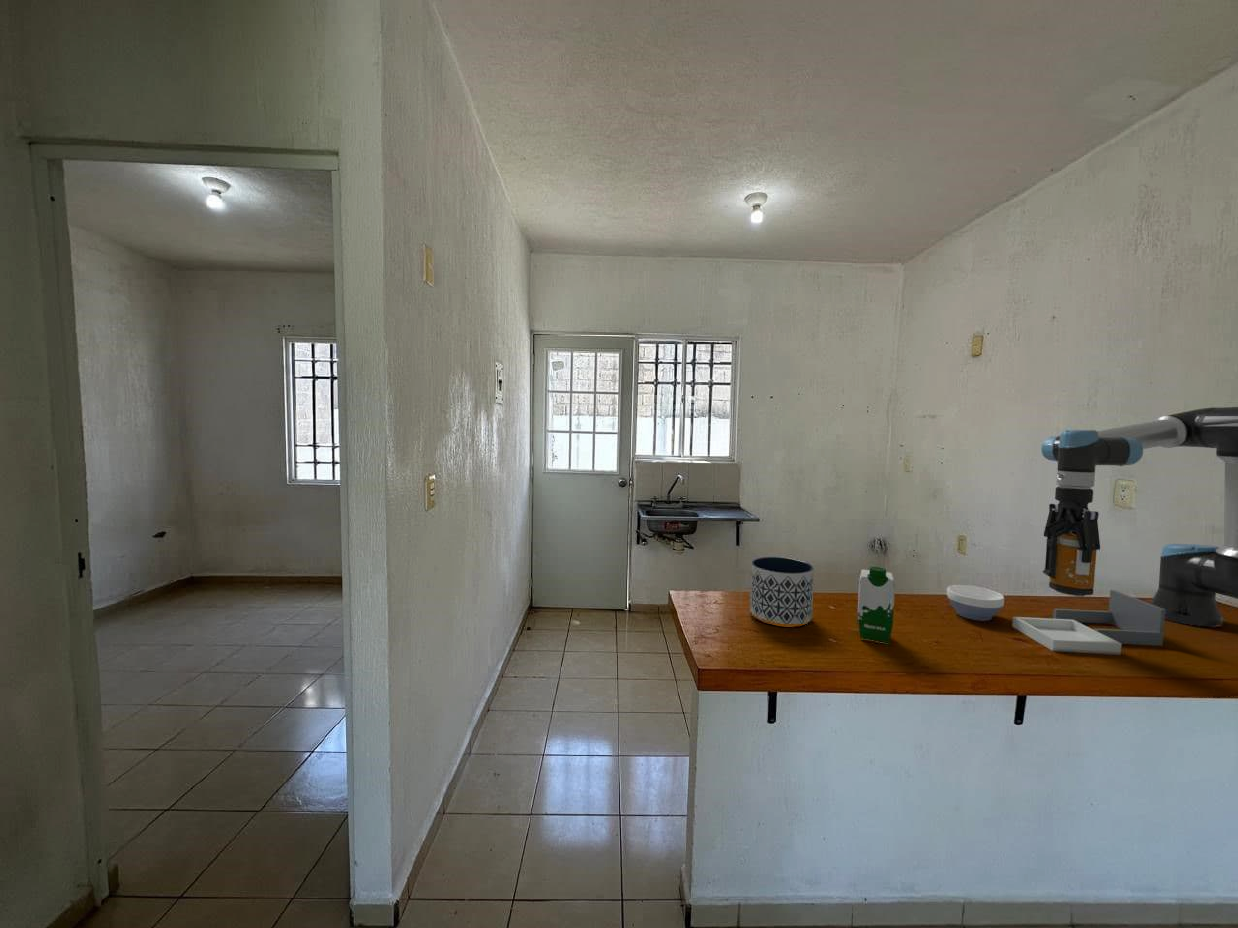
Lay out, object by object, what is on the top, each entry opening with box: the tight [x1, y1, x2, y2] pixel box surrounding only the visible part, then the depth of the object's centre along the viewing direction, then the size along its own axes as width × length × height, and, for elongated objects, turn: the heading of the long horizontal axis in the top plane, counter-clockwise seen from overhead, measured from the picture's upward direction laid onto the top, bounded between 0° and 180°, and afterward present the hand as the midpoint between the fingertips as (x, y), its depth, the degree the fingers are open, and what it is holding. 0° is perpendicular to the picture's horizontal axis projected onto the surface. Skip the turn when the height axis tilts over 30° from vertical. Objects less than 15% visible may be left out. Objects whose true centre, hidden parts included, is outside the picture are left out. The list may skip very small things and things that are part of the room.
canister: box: [1042, 519, 1098, 597], centre depth 135 cm, size 9×11×20 cm
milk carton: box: [857, 566, 896, 644], centre depth 137 cm, size 9×9×20 cm
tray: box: [1012, 616, 1123, 656], centre depth 137 cm, size 16×16×3 cm
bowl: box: [946, 584, 1005, 622], centre depth 154 cm, size 14×14×8 cm
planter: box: [749, 556, 815, 625], centre depth 152 cm, size 18×18×16 cm
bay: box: [1052, 589, 1166, 646], centre depth 142 cm, size 16×16×10 cm
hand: (1068, 568), depth 136 cm, fingers closed on canister, 9 cm apart
